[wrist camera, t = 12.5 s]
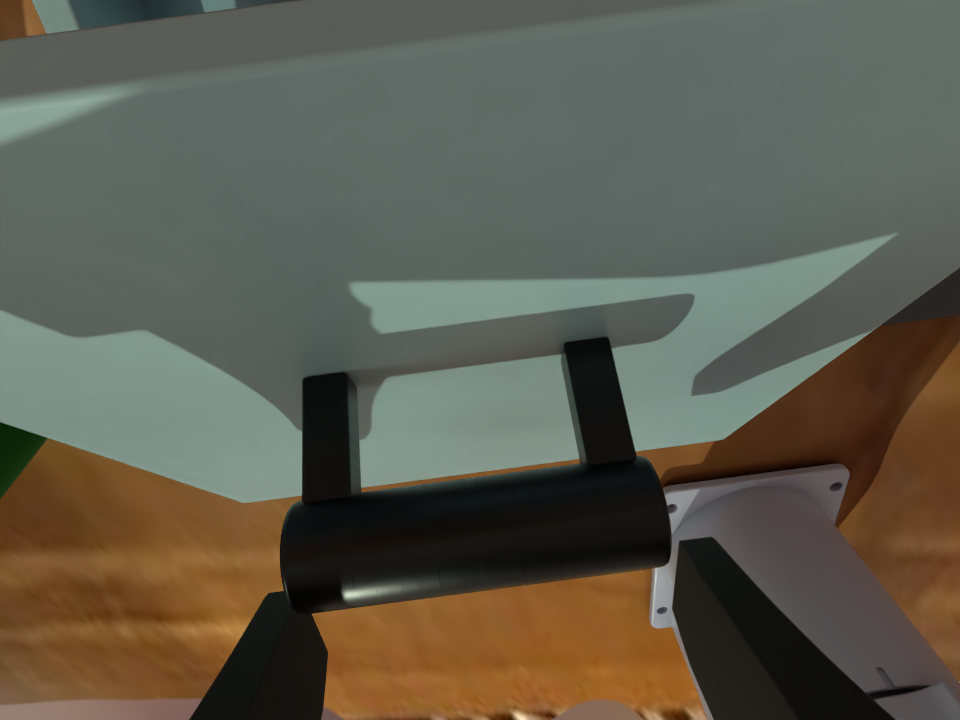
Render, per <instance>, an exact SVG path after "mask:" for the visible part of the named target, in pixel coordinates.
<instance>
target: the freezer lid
mask: <svg viewBox="0 0 960 720" xmlns="http://www.w3.org/2000/svg"><path fill="white" fill-rule="evenodd" d="M959 268H960V0H293V1H286V2H279V3H271V4H264V5H257V6H249V7H242V8H234V9H227V10H220V11H212V12H205V13H197V14H190V15H183V16H175V17H168V18H161V19H153V20H146V21H138V22H131V23H124V24H116V25H109V26H102V27H94V28H87V29H79V30H72V31H65V32H57V33H50V34H42V35H35V36H28V37H20V38H13V39H6V40H0V422H2V423H5V424H8V425H11V426H14V427H17V428H20V429H23V430H26V431H29V432H32V433H35V434H38V435H41V436H44V437H47V438H50V439H53V440H56V441H59V442H62V443H65V444H68V445H71V446H74V447H77V448H80V449H83V450H86V451H89V452H92V453H95V454H98V455H101V456H104V457H107V458H110V459H113V460H116V461H119V462H122V463H125V464H128V465H131V466H134V467H137V468H140V469H143V470H146V471H149V472H152V473H155V474H158V475H161V476H164V477H167V478H170V479H173V480H176V481H179V482H182V483H185V484H188V485H191V486H194V487H197V488H200V489H203V490H206V491H209V492H212V493H215V494H218V495H221V496H224V497H227V498H230V499H233V500H236V501H239V502H242V503H249V502H257V501H264V500H272V499H279V498H287V497H294V496H302V501H299V502H297V503H295V504H293V505H292V506H291V507H290V509H289V510H288V512H287V515H286V517H285V520H284V524H283V529H282V534H281V543H280V569H281V577H282V583H283V588H284V592H285V595H286V598H287V601H288V603H289V605H290V606H291V608H292V609H293V610H294V611H295V612H297V613H300V614H311V613H319V612H326V611H334V610H342V609H349V608H357V607H364V606H372V605H379V604H387V603H395V602H402V601H410V600H417V599H425V598H433V597H440V596H448V595H455V594H463V593H471V592H478V591H486V590H493V589H501V588H508V587H516V586H524V585H531V584H539V583H546V582H554V581H562V580H569V579H577V578H584V577H592V576H600V575H607V574H615V573H622V572H630V571H638V570H645V569H653V568H660V567H663V566H665V565H666V564H668V562H669V560H670V557H671V550H672V532H671V523H670V516H669V511H668V506H667V502H666V498H665V495H664V491H663V488H662V485H661V482H660V480H659V478H658V475H657V473H656V471H655V469H654V468H653V466H652V464H651V463H650V461H649V460H648V459H646V458H645V457H641V456H636V451H642V450H649V449H657V448H664V447H672V446H679V445H687V444H695V443H702V442H710V441H717V440H723V439H725V438H726V437H727V436H729V435H730V434H732V433H733V432H734V431H736V430H737V429H738V428H740V427H741V426H743V425H744V424H745V423H747V422H748V421H749V420H751V419H752V418H754V417H755V416H756V415H758V414H759V413H760V412H762V411H763V410H765V409H766V408H767V407H769V406H770V405H771V404H773V403H774V402H776V401H777V400H778V399H780V398H781V397H782V396H784V395H785V394H787V393H788V392H789V391H791V390H792V389H793V388H795V387H796V386H798V385H799V384H800V383H802V382H803V381H805V380H806V379H807V378H809V377H810V376H811V375H813V374H814V373H816V372H817V371H818V370H820V369H821V368H822V367H824V366H825V365H827V364H828V363H829V362H831V361H832V360H833V359H835V358H836V357H838V356H839V355H840V354H842V353H843V352H844V351H846V350H847V349H849V348H850V347H851V346H853V345H854V344H855V343H857V342H858V341H860V340H861V339H862V338H864V337H865V336H866V335H868V334H869V333H871V332H872V331H873V330H875V329H876V328H877V327H879V326H880V325H882V324H883V323H884V322H886V321H887V320H888V319H890V318H891V317H893V316H894V315H895V314H897V313H898V312H900V311H901V310H902V309H904V308H905V307H906V306H908V305H909V304H911V303H912V302H913V301H915V300H916V299H917V298H919V297H920V296H922V295H923V294H924V293H926V292H927V291H928V290H930V289H931V288H933V287H934V286H935V285H937V284H938V283H939V282H941V281H942V280H944V279H945V278H946V277H948V276H949V275H950V274H952V273H953V272H955V271H956V270H957V269H959ZM574 459H580V464H574V465H567V466H559V467H552V468H544V469H537V470H529V471H522V472H514V473H506V474H499V475H491V476H484V477H476V478H469V479H461V480H454V481H446V482H438V483H431V484H423V485H416V486H408V487H401V488H393V489H386V490H378V491H371V492H363V493H361V488H362V487H370V486H377V485H385V484H393V483H400V482H408V481H415V480H423V479H430V478H438V477H445V476H453V475H461V474H468V473H476V472H483V471H491V470H498V469H506V468H513V467H521V466H528V465H536V464H544V463H551V462H559V461H566V460H574Z"/></svg>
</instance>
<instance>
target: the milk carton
mask: <svg viewBox="0 0 960 720" xmlns="http://www.w3.org/2000/svg"><path fill="white" fill-rule="evenodd" d="M46 440H47V437H44V436H41V435H38V434H35V433H32V432H29V431H26V430H23V429H20V428H17V427H14V426H11V425H8V424H5V423H2V422H0V499H1V497H2V496H3V495H4V494H5V492H6V491H7V490H8V489H9V487H10V486H11V485H12V484H13V482H14V481H15V480H16V478H17V477H18V476H19V475H20V473H21V472H22V471H23V469H24V468H25V467H26V466H27V464H28V463H29V462H30V460H31V459H32V458H33V457H34V455H35V454H36V453H37V451H38V450H39V449H40V447H41V446H42V445H43V444H44V442H45V441H46Z"/></svg>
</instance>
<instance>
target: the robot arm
mask: <svg viewBox="0 0 960 720" xmlns="http://www.w3.org/2000/svg"><path fill="white" fill-rule="evenodd" d="M849 476H850V472H849V471H848V469H847V468H846V467H845V466H844V465H842V464H829V465H821V466H813V467H806V468H798V469H791V470H783V471H776V472H768V473H761V474H753V475H745V476H738V477H730V478H723V479H715V480H708V481H700V482H692V483H685V484H677V485H670V486H666V487H664V488H663V491H664V495H665V498H666V502H667V506H668V505H670V506H668V511H669V516H670V523H671V532H672V550H671V557H670V560H669V562H668V564H666V565H665V566H663V567H660V568H653V569H652V581H651V595H650V609H649V620H650V623H651V625H652V626H653V627H655V628H666V627H672V628H673V630H674V633H675V635H676V638H677V640H678V643H679V646H680V648H681V651H682V653H683V656H684V658H685V661H686V664H687V666H688V669H689V671H690V674H691V676H692V679H693V682H694V684H695V687H696V689H697V692H698V694H699V697H700V700H701V702H702V705H703V707H704V710H705V713H706V715H707V718H708V720H960V683H959V682H958V680H957V679H956V678H955V677H954V675H953V674H952V673H951V671H950V670H949V669H948V668H947V666H946V665H945V664H944V663H943V661H942V660H941V659H940V658H939V656H938V655H937V654H936V652H935V651H934V650H933V649H932V647H931V646H930V645H929V644H928V642H927V641H926V640H925V639H924V637H923V636H922V635H921V633H920V632H919V631H918V630H917V628H916V627H915V626H914V625H913V623H912V622H911V621H910V620H909V618H908V617H907V616H906V614H905V613H904V612H903V611H902V609H901V608H900V607H899V606H898V604H897V603H896V602H895V601H894V599H893V598H892V597H891V595H890V594H889V593H888V592H887V590H886V589H885V588H884V587H883V585H882V584H881V583H880V582H879V580H878V579H877V578H876V576H875V575H874V574H873V573H872V571H871V570H870V569H869V568H868V566H867V565H866V564H865V563H864V561H863V560H862V559H861V558H860V556H859V555H858V554H857V552H856V551H855V550H854V549H853V547H852V546H851V545H850V544H849V542H848V541H847V540H846V539H845V537H844V536H843V535H842V533H841V532H840V531H839V530H838V528H837V527H836V526H835V522H836V518H837V515H838V512H839V509H840V506H841V502H842V499H843V496H844V493H845V489H846V486H847V483H848V480H849ZM671 504H672V505H671ZM327 658H328V651H327V649H326V646H325V644H324V642H323V639H322V637H321V635H320V632H319V630H318V628H317V626H316V623H315V621H314V619H313V616H312V614H300V613H297V612H295V611H294V610H293V609H292V608H291V606H290V605H289V603H288V601H287V598H286V595H285V592H284V591H281V592H273V593H268V595H267V596H266V597H265V598H264V600H263V601H262V603H261V605H260V607H259V608H258V610H257V612H256V613H255V615H254V617H253V618H252V620H251V622H250V623H249V625H248V627H247V628H246V630H245V632H244V633H243V635H242V637H241V638H240V640H239V642H238V643H237V645H236V647H235V648H234V650H233V652H232V653H231V655H230V657H229V658H228V660H227V661H226V663H225V665H224V666H223V668H222V669H221V671H220V673H219V674H218V676H217V677H216V679H215V681H214V682H213V684H212V685H211V687H210V688H209V690H208V691H207V693H206V695H205V696H204V698H203V699H202V701H201V702H200V704H199V706H198V707H197V709H196V710H195V712H194V713H193V715H192V716H191V718H190V719H189V720H321V717H322V712H323V703H324V693H325V683H326V671H327Z"/></svg>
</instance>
